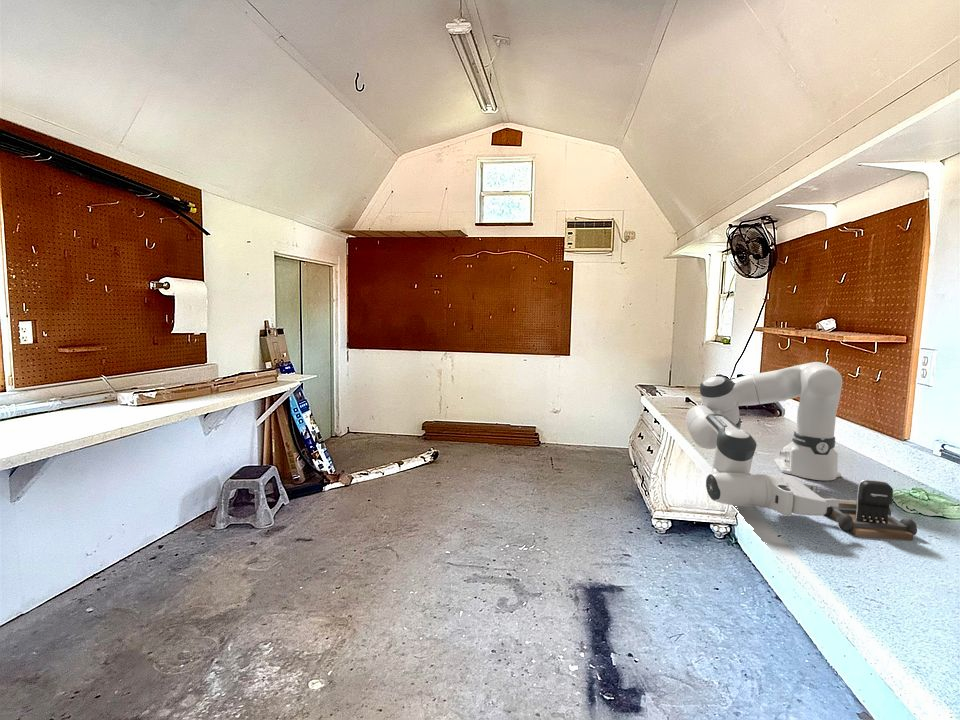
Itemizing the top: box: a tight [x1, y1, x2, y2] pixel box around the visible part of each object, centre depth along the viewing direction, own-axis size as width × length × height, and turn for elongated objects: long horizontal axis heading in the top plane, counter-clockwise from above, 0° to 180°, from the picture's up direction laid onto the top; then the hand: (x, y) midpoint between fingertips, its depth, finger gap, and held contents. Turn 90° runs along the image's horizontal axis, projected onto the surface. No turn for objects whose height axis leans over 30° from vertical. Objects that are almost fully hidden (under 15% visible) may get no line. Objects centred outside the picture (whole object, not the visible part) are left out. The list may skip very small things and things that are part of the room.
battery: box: [855, 479, 894, 524], centre depth 130 cm, size 7×4×11 cm, turn 73°
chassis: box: [823, 498, 918, 541], centre depth 134 cm, size 17×16×4 cm
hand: (827, 495), depth 134 cm, fingers open, 8 cm apart
